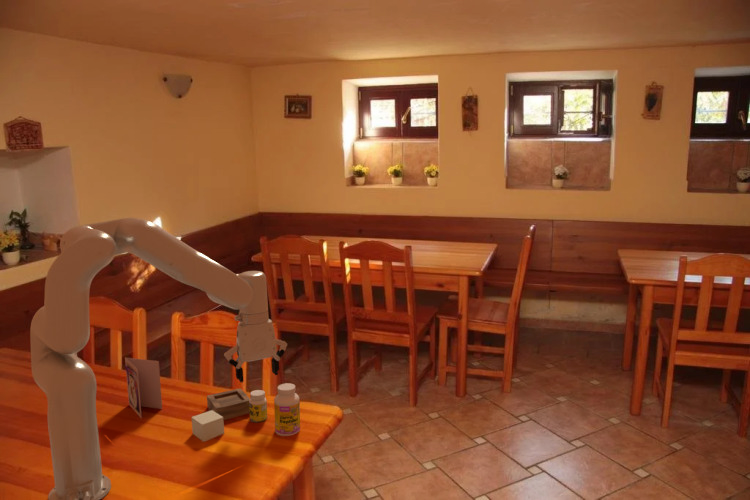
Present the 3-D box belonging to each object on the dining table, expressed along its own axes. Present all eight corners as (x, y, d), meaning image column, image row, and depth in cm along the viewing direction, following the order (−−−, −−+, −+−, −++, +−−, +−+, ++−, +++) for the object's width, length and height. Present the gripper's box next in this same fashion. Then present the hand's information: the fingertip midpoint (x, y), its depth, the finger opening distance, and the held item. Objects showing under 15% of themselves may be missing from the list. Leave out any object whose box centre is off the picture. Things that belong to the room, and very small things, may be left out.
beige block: (224, 434, 158) (223, 417, 157) (203, 442, 154) (202, 424, 153) (213, 427, 162) (212, 410, 161) (192, 434, 158) (191, 417, 157)
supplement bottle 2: (276, 439, 155) (274, 393, 152) (274, 428, 161) (272, 383, 159) (302, 436, 156) (300, 390, 154) (298, 424, 163) (297, 380, 160)
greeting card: (126, 406, 175) (121, 358, 172) (151, 399, 180) (147, 352, 177) (138, 420, 166) (134, 369, 164) (164, 412, 171) (161, 363, 168)
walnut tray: (252, 416, 169) (251, 400, 168) (217, 424, 164) (216, 408, 163) (241, 403, 177) (240, 388, 176) (207, 411, 172) (206, 395, 172)
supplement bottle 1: (246, 422, 164) (244, 394, 163) (257, 415, 168) (256, 387, 167) (259, 426, 162) (258, 397, 160) (271, 419, 166) (269, 391, 164)
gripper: (225, 326, 153) (230, 388, 156) (289, 315, 161) (292, 375, 164) (218, 318, 159) (223, 378, 162) (280, 308, 167) (283, 366, 170)
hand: (258, 377), depth 163 cm, fingers open, 9 cm apart
